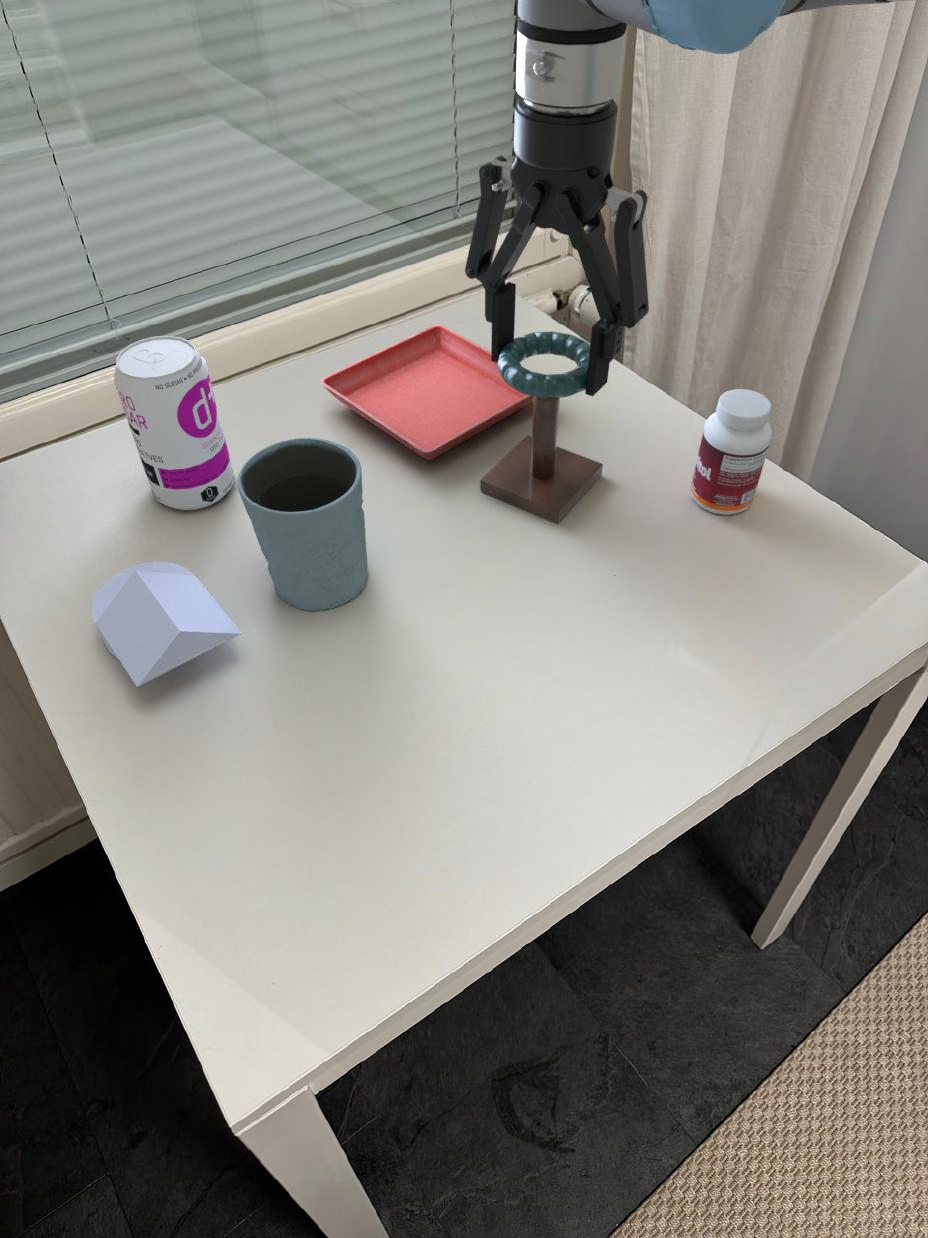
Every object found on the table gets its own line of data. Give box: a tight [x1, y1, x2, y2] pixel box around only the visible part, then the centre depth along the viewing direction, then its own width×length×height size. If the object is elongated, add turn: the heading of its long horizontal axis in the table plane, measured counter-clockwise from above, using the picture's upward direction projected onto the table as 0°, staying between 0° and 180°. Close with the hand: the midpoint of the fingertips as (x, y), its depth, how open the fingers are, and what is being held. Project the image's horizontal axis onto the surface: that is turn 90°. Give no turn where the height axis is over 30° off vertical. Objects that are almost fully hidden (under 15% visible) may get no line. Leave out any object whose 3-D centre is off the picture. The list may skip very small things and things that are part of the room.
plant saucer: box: [320, 324, 534, 461], centre depth 99 cm, size 18×18×3 cm
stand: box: [479, 396, 604, 524], centre depth 87 cm, size 9×9×10 cm
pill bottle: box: [690, 388, 773, 515], centre depth 85 cm, size 6×6×11 cm
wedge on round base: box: [90, 561, 242, 688], centre depth 74 cm, size 9×7×13 cm
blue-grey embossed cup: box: [237, 437, 368, 612], centre depth 77 cm, size 10×10×12 cm
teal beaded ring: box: [497, 330, 590, 399], centre depth 81 cm, size 9×9×2 cm
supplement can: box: [113, 335, 236, 511], centre depth 85 cm, size 8×8×15 cm
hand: (548, 371), depth 81 cm, fingers closed on teal beaded ring, 9 cm apart
